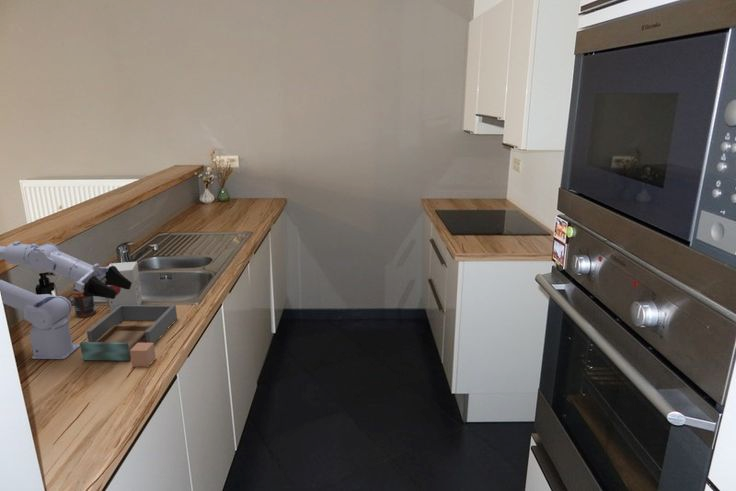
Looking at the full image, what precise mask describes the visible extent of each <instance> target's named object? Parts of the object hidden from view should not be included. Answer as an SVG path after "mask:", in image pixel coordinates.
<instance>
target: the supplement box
mask: <svg viewBox="0 0 736 491" xmlns="http://www.w3.org/2000/svg"><path fill="white" fill-rule="evenodd" d="M111 266H115V267H116V268H117V269H118V271H119V272H120V273H121V274H122V275H123V276H124V277H125V278H127V279H128V280H129V281H130V282H132V284H131V287H130V289H129V290H128V289H123V288H120V287H117V286H112V285H107V286H109V287H111V288H112V289H114V290H116V291H117V294H116V297H115V299H110V298H108V304H109V311H110V312H111V311H112V310H114V309H115V308H116V307H117V306H119V305H142V304H143V294H142V288H141V280H140V274H139V264H138V261H128V262H127V261H126V262H114V263H112V262H111V263H109V265H108V267H111ZM104 279H105V280H106V278H104Z"/></svg>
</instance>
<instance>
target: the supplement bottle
mask: <svg viewBox="0 0 736 491" xmlns="http://www.w3.org/2000/svg"><path fill="white" fill-rule="evenodd" d="M75 284H76V282H75V281H74V282H73V289H72V291H71V296H72V297H71V298H72V302H73V306H74V311H75V316H76V317H78V318H87V317H90V316H93V315H95V314H96V312H97V311H96V304H95V298H94V296H88V297H86V296H84V295H83V293H84V290H83V291H78V290H76V289H74V287H75Z"/></svg>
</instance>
